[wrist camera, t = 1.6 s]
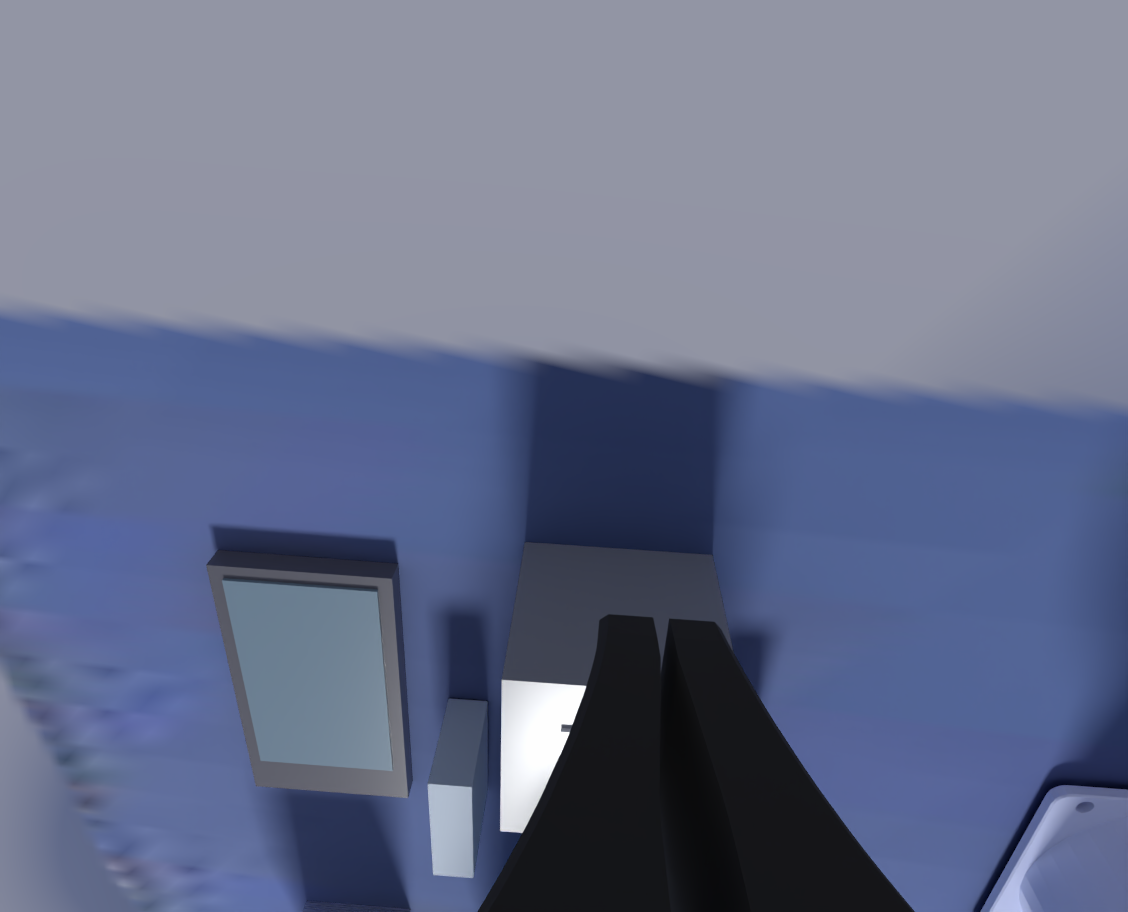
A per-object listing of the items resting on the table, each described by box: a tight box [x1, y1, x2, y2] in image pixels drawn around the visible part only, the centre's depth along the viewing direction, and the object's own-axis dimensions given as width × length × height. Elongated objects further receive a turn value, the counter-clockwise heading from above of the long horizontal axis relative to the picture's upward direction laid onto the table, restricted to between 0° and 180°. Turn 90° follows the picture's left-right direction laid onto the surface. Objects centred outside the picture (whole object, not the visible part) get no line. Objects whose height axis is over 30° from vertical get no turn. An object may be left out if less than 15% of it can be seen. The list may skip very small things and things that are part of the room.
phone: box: [206, 550, 413, 798], centre depth 22 cm, size 5×9×1 cm, turn 177°
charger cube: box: [500, 542, 734, 833], centre depth 18 cm, size 5×5×5 cm
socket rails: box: [428, 698, 488, 878], centre depth 22 cm, size 9×4×3 cm, turn 87°
